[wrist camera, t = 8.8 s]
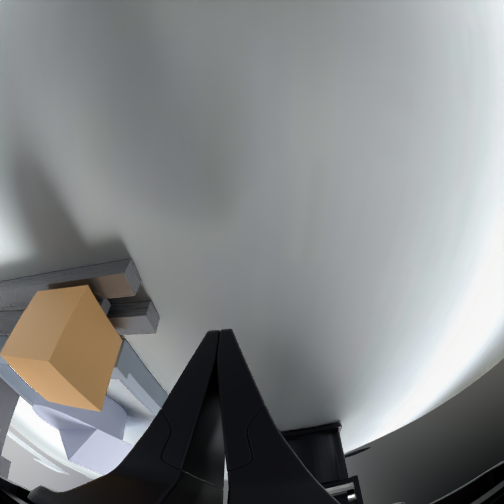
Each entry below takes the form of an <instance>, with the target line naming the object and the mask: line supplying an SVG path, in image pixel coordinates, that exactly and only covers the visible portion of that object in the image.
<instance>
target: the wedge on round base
mask: <svg viewBox="0 0 504 504" xmlns="http://www.w3.org/2000/svg"><path fill="white" fill-rule="evenodd" d="M32 408H33V410H34V411H35V413H36V414H37V415H38V416H39V417H41V418H42V419H43V420H44V421H46V422H47V423H48V424H50V425H51V426H53V427H55V428H56V429H58V430H59V431H60V434H61V438H62V441H63V445H64V448H65V451H66V454H67V457H68V460H69V461H71V462H73V463H75V464H77V465H80V466H82V467H84V468H87V469H89V470H92V471H94V472H97V473H99V474H102V475H106V474H108V473H109V472H111V471H112V470H114V469H115V468H116V467H117V466H118V465H119V464H120V463H121V462H122V460H123V459H124V458H125V457H126V456H127V454H128V453H129V452H130V451H131V449H132V448H133V447H134V445H131V444H129V443H127V442H124V441H122V440H123V435H124V429H125V424H126V419H127V413H126V411H125V410H124V409H123V408H122V407H121V406H120V405H119V404H118V403H117V402H115V401H114V400H112V399H111V398H109V397H108V396H105V400H104V404H103V408H102V412H100V411H93V410H87V409H82V408H76V407H71V406H66V405H62V404H57V403H53V402H49V401H47V400H46V399H45V398H43V397H42V396H41V395H40V394H39V393H38V392H37V395H36V398H35V400H34V403H33V406H32Z"/></svg>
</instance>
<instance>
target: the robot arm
mask: <svg viewBox="0 0 504 504" xmlns="http://www.w3.org/2000/svg"><path fill="white" fill-rule="evenodd" d="M341 428H342V425H341V423H337V424H332V425H328V426H323V427H318V428H312V429H306V430H300V431H294V432H287V433H280V431H279V430H278V428H277V426H276V425H275V423H274V421H273V419H272V417H271V415H270V413H269V411H268V409H267V407H266V405H265V403H264V401H263V398H262V396H261V394H260V392H259V390H258V388H257V385H256V383H255V381H254V379H253V376H252V374H251V372H250V370H249V367H248V365H247V363H246V361H245V358H244V356H243V354H242V351H241V349H240V347H239V344H238V342H237V340H236V337H235V335H234V333H233V330H232V329H222V330H220V331H219V330H212V331H208V332H207V333H206V335H205V337H204V338H203V340H202V342H201V343H200V345H199V347H198V348H197V350H196V351H195V353H194V355H193V356H192V358H191V360H190V361H189V363H188V365H187V366H186V368H185V370H184V371H183V373H182V374H181V376H180V378H179V379H178V381H177V383H176V384H175V386H174V388H173V389H172V391H171V392H170V394H169V396H168V397H167V399H166V401H165V402H164V404H163V406H162V407H161V409H160V410H159V412H158V414H157V415H156V417H155V418H154V420H153V421H152V423H151V424H150V426H149V427H148V429H147V430H146V432H145V433H144V434H143V436H142V437H141V438H140V440H139V441H138V442H137V443H136V444H135V446H134V447H133V448H132V449H131V451H130V452H129V453H128V454H127V456H126V457H125V458H124V459H123V460H122V462H121V463H120V464H119V465H118V466H117V467H116V468H115V469H114V470H112V471H111V472H109V473H108V474H106V475H104V476H102V477H99V478H97V479H95V480H93V481H91V482H88V483H86V484H83V485H81V486H79V487H76V488H74V489H72V490H69V491H65V492H58V491H55V490H53V489H50V488H47V487H45V486H42V485H41V486H39V487H37V488H35V489H34V490H32V491H31V490H29V489H27V488H25V487H22V486H20V485H18V484H16V483H14V482H12V481H10V480H8V479H6V478H4V477H2V476H1V475H0V504H223V487H224V465H225V457H226V465H227V471H228V484H229V491H228V501H227V504H363V499H362V495H361V490H360V486H359V481H358V476H357V475H355V476H352V477H351V478H348V473H347V468H346V463H345V458H344V453H343V448H342V443H341V438H340V431H341ZM351 485H353V489H350V490H347V491H342V492H338V493H334V494H330V493H329V492H328V491H330V490H335V489H339V488H344V487H348V486H351ZM352 497H355V499H353V500H349V501H348V498H352ZM395 504H404V503H403V502H399V503H395ZM430 504H504V461H503V462H501V463H499V464H497V465H496V466H494V467H492V468H491V469H489V470H488V471H486V472H484V473H483V474H481V475H480V476H478V477H476V478H475V479H474V480H472V481H470V482H469V483H467V484H465V485H464V486H462V487H460V488H458V489H457V490H455V491H453V492H452V493H450V494H448V495H446V496H444V497H442V498H440V499H438V500H436V501H434V502H432V503H430Z"/></svg>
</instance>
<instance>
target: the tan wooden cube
mask: <svg viewBox="0 0 504 504" xmlns="http://www.w3.org/2000/svg"><path fill="white" fill-rule="evenodd" d="M110 306H111V304H110V302H109V301H108V299H99V300H96V298H95V296H94V295H93V293H92V291H91V289H90V288H89V286H88V285H83V286H75V287H68V288H60V289H52V290H44V291H37V293H36V294H35V296H34V297H33V299H32V300H31V302H30V303H29V305H28V306H27V308H26V309H25V311H24V312H23V314H22V316H21V317H20V319H19V321H18V322H17V324H16V326H15V327H14V329H13V331H12V332H11V334H10V336H9V338H8V340H7V341H6V343H5V345H4V347H3V349H2V351H1V353H0V355H1V356H2V357H3V358H4V359H5V360H6V362H7V363H8V364H9V365H10V366H11V367H12V368H13V369H14V370H15V371H16V372H17V373H18V374H19V375H20V376H21V377H22V378H23V379H24V380H25V381H26V382H27V383H28V384H29V385H30V386H31V387H32V388H33V389H34V390H36V391H37V392H38V393H39V394H40V395H41V396H42V397H43V398H45V399H46V400H47V401H49V402H53V403H57V404H62V405H66V406H71V407H76V408H82V409H87V410H93V411H100V412H102V408H103V404H104V400H105V396H106V393H107V389H108V385H109V382H110V378H111V375H112V372H113V368H114V365H115V362H116V358H117V355H118V352H119V349H120V346H121V343H122V339H121V337H120V336H119V334H118V333H117V331H116V330H115V328H114V327H113V325H112V324H111V322H110V321H109V319H108V318H107V316H106V315H107V313H108V311H109V308H110Z"/></svg>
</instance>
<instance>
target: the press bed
mask: <svg viewBox="0 0 504 504" xmlns="http://www.w3.org/2000/svg"><path fill="white" fill-rule="evenodd" d="M8 338H9V336H0V353H1V351H2V349H3V347H4V345H5V343H6V341H7V340H8ZM110 379H119V380H120V381H121V382H122V383H123V385H124V386H125V387H126V388H127V389H128V390H129V391H130V392H131V393H132V394H133V395H134V396H135V397H136V398H137V399H138V400H139V401H140V402H141V403H142V404H143V405H144V406H145V407H146V408H147V409H148V410H149V411H150V412H151V413H152V414H153V415H154V416H155V417H156V415H157V414H158V412H159V410H160V409H161V407H162V406H163V404H164V402H165V401H166V399H167V397H168V395H167V394H166V392H165V391H164V390H163V389H162V387H161V386H160V385H159V384H158V382H157V381H156V380H155V379H154V377H153V376H152V375H151V374H150V372H149V371H148V370H147V368H146V367H145V366H144V364H143V363H142V362H141V360H140V359H139V358H138V356H137V355H136V353H135V352H134V351H133V349H132V348H131V346H130V345H129V343H128V342H127V341H126V339H122V343H121V346H120V349H119V352H118V355H117V358H116V362H115V365H114V368H113V372H112V375H111V378H110ZM36 395H37V393H36V392H35V391H34V390H33V389H32V388H31V387H30V386H29V385H28V384H26V383H25V382H24V381H23V380H22V379H21V378H20V377H19V376H18V375H17V374H16V373H15V372H14V371H13V370H12V369H11V367H10V366H9V364H8V363H7V362H6V360H5V359H4V358H3V357H2V356H1V355H0V475H1V476H2V477H4V478H6V479H7V478H8V473H9V468H10V463H11V462H10V461H9V460H7V459H5V458H4V457H2V456H1V453H2V449H3V445H4V441H5V438H6V434H7V431H8V428H9V425H10V422H11V419H12V416H13V413H14V410H15V407H16V404H17V401H18V399H19V396H21V397H22V398H23V399H24V400H26V401H27V402H28V403H29V404H30V405H32V406H33V403H34V400H35V398H36Z"/></svg>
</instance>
